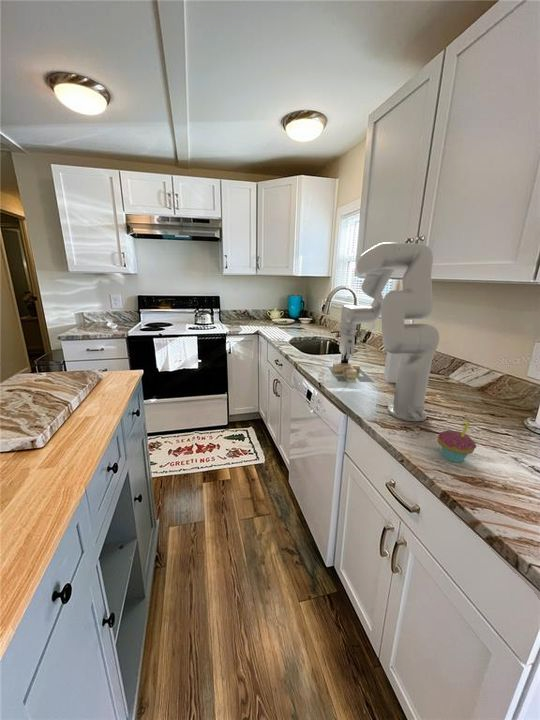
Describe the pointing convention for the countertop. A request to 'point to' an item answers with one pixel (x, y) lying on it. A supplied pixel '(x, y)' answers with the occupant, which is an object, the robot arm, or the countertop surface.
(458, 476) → the countertop surface
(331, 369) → the board
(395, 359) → the milk carton
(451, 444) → the cupcake
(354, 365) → the t block
